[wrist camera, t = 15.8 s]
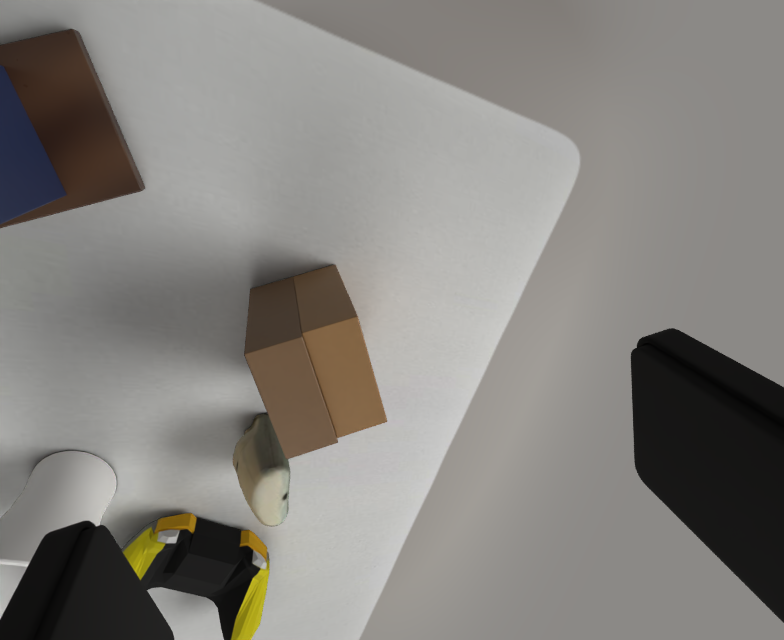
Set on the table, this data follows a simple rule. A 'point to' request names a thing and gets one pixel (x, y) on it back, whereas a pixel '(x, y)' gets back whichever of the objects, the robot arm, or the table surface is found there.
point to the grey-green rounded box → (263, 471)
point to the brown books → (311, 361)
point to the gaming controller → (205, 567)
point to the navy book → (22, 159)
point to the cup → (51, 509)
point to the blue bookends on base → (70, 121)
